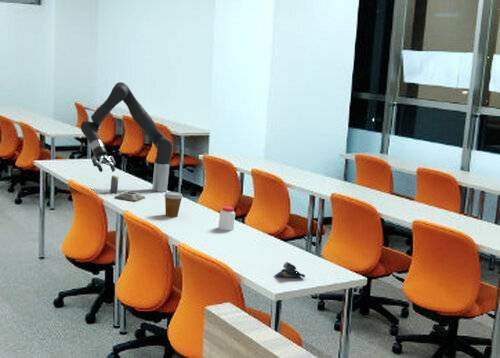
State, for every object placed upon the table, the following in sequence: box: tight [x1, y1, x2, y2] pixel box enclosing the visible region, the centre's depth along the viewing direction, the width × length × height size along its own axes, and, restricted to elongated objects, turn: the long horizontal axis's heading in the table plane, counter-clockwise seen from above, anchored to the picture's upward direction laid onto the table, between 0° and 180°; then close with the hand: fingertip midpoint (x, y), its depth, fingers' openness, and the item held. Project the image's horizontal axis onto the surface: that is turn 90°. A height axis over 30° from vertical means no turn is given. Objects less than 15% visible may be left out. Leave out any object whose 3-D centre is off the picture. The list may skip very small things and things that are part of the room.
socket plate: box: [114, 190, 146, 203], centre depth 372 cm, size 13×13×3 cm
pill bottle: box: [217, 205, 236, 231], centre depth 326 cm, size 8×8×11 cm
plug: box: [109, 175, 119, 194], centre depth 381 cm, size 4×4×10 cm
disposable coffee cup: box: [164, 191, 184, 218], centre depth 340 cm, size 10×10×12 cm
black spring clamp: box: [274, 261, 306, 278], centre depth 259 cm, size 12×6×12 cm
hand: (107, 171), depth 385 cm, fingers open, 8 cm apart
